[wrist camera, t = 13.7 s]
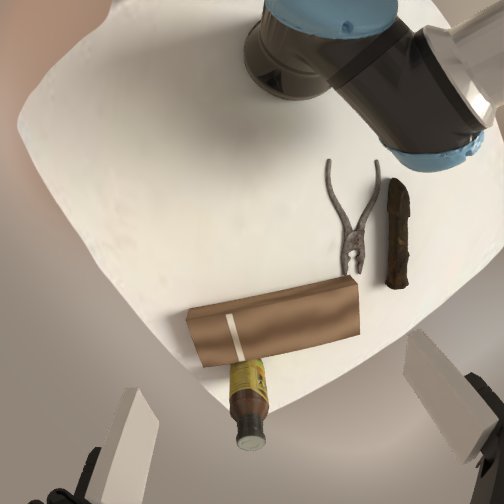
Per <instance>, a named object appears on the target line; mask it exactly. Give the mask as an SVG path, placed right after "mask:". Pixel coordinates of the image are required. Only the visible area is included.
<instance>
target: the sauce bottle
mask: <svg viewBox="0 0 504 504" xmlns="http://www.w3.org/2000/svg"><path fill="white" fill-rule="evenodd" d="M229 402H230V415H231V417H232V418H233V419H234V420H235V421H236V422H237V427H238V434H237V437H236V441H237V446H238V447H239V448H240V449H243V450H246V451H256V450H259V449H261V448H262V447H263V446H264V445H265V443H266V442H265V440H266V439H265V435H264V433H263V420H264V419H265V418H266V416H267V414H268V410H269V403H268V395H267V387H266V380H265V371H264V366H263V362H262V360H261V359H260V358H259V359H254V360H248V361H243V362H237V363H231V367H230V394H229Z"/></svg>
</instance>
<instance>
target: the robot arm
mask: <svg viewBox="0 0 504 504" xmlns="http://www.w3.org/2000/svg"><path fill="white" fill-rule="evenodd" d="M397 11H398V1H397V0H264V6H263V12H262V18H261V20H260V21H259V22H258V23H257V24H256V25H254V27H253V28H252V29H251V30H250V32H249V34H248V36H247V38H246V41H245V45H244V61H245V65H246V68H247V70H248V72H249V74H250V76H251V77H252V79H253V80H254V81H255V82H256V83H257V84H258V85H259V86H260V87H261V88H263V89H264V90H265V91H267V92H269V93H270V94H272V95H275V96H277V97H280V98H284V99H288V100H307V99H311V98H315V97H317V96H319V95H321V94H323V93H325V92H326V91H327V90H329V89H330V88H331V87H332V88H333V89H334V90H335V91H336V92H337V93H338V94H339V95H340V96H341V97H342V98H343V99H344V100H345V101H346V102H347V103H348V104H349V105H350V106H351V107H352V108H353V109H354V110H355V111H356V112H357V113H358V114H359V115H360V117H361V118H362V119H363V120H364V121H365V122H366V123H367V124H368V125H369V126H370V128H371V129H372V130H373V131H374V132H375V133H376V134H377V136H378V137H379V140H380V142H381V143H382V145H383V146H384V147H385V148H387V149H388V150H389V151H391V152H392V153H393V155H394V156H395V157H396V158H397V159H398V160H399V161H400V163H402V164H403V165H404V166H406V167H407V168H409V169H411V170H414V171H417V172H425V173H429V172H438V171H443V170H447V169H450V168H452V167H455V166H457V165H459V164H461V163H462V162H464V161H466V156H472V155H474V154H475V153H476V152H477V150H478V149H479V148H480V146H481V144H482V142H483V139H484V129H487V128H489V127H491V126H492V125H493V121H494V117H495V113H496V109H497V108H498V106H501V105H503V104H504V0H500V1H498V2H496V3H494V4H493V5H491V6H489V7H487V8H486V9H484V10H482V11H480V12H478V13H477V14H475V15H473V16H472V17H470V18H468V19H466V20H465V21H463V22H461V23H460V24H458V25H456V26H455V27H453V28H451V29H442V28H438V27H434V26H430V25H427V26H425V27H423V28H422V29H420V30H419V31H417V32H416V33H414V32H413V31H412V30H410V29H409V28H408V26H407V25H406V24H405V23H404V22H403V21H402V20H401V19H400V18H399V17H398V16H397ZM407 336H408V337H407V346H406V355H405V364H404V371H403V375H404V377H405V378H406V379H407V381H408V382H409V384H410V385H411V387H412V388H413V390H414V391H415V393H416V394H417V396H418V398H419V399H420V400H421V402H422V404H423V405H424V407H425V408H426V410H427V411H428V413H429V414H430V416H431V418H432V419H433V421H434V422H435V424H436V425H437V427H438V429H439V430H440V432H441V434H442V435H443V437H444V438H445V440H446V442H447V443H448V445H449V447H450V448H451V450H452V452H453V453H454V455H455V456H456V458H457V460H458V462H459V463H460V465H461V466H463V465H465V464H466V463H468V462H470V461H471V460H473V459H475V458H476V456H477V455H478V453H479V452H480V451H481V452H482V454H483V456H482V458H481V459H480V461H479V462H478V463H477V465H476V468H478V467H479V465H480V469H479V473H478V477H477V481H476V485H475V488H474V492H473V495H472V499H471V502H470V504H504V403H503V402H502V401H501V400H500V398H499V397H498V396H497V395H496V394H495V393H494V392H492V389H491V388H490V387H489V386H487V384H486V383H485V381H484V380H483V379H482V378H481V377H479V376H478V375H476V374H474V373H472V372H471V373H469V374H468V375H466V376H463V375H462V374H461V373H460V371H459V370H458V369H457V368H456V367H455V366H454V365H453V363H451V361H450V360H449V359H448V358H447V357H446V356H445V355H444V353H442V351H441V350H440V349H439V348H438V347H437V346H436V345H435V344H434V342H433V341H432V340H431V339H430V338H429V337H428V336H427V335H426V334H425V333H424V332H423V331H422V330H421V329H418V330H416V331H413V332H410V333H408V335H407ZM158 427H159V421H158V420H157V418H156V416H155V415H154V413H153V412H152V410H151V408H150V407H149V405H148V403H147V402H146V400H145V398H144V397H143V395H142V393H141V392H140V390H139V388H125V390H124V392H123V395H122V397H121V400H120V402H119V405H118V407H117V410H116V412H115V415H114V417H113V420H112V422H111V425H110V427H109V430H108V433H107V435H106V438H105V441H104V443H103V446H102V447H95V448H94V449H93V450H92V451H91V453H90V454H89V455H88V458H87V461H86V465H85V466H84V468H83V472H82V474H81V477H80V479H79V482H78V485H77V487H76V490H75V493H74V496H73V495H72V494H71V493H69V492H68V491H67V490H65V489H62V488H58V489H54V490H53V491H52V492H50V494H49V495H48V497H47V504H142V500H143V494H144V490H145V485H146V480H147V475H148V470H149V466H150V462H151V457H152V453H153V448H154V444H155V440H156V435H157V431H158ZM28 504H44V503H43V502H41V501H40V500H32V501H30V502H29V503H28Z"/></svg>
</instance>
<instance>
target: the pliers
mask: <svg viewBox="0 0 504 504" xmlns="http://www.w3.org/2000/svg"><path fill="white" fill-rule="evenodd" d="M375 164H376V170H377V181H376V188H375V191H374V194H373V196H372V198H371V200H370V202H369V204H368V205H367V207H366V209H365V210H364V212H363V214H362V216H361V218H360V220H359V223H358V226H357V229H356V231H353V230H352V227H351V224H350V222H349V219H348V217H347V215H346V213H345V212H344V210H343V209H342V207H341V205H340V204H339V202H338V200H337V198H336V196H335V195H334V192H333V189H332V185H331V178H330V169H331V159H328V162H327V167H326V182H327V188H328V192H329V196H330V198H331V200H332V202H333V204H334V206H335V208H336V210H337V212H338V214H339V216H340V218H341V220H342V223H343V226H344V236H345V240H344V245H343V250H342V255H341V260H342V265H343V271H344V275H345V276H346V275H347V271H348V262H349V261H350V259H351V258H350V257H349V256H348V253H349V252H350V251H352V250H353V248H355V249H356V250H358V251H359V254H358V255H357V256H356V258H357V260H358V265H357V266H358V273H359V274H361V271H362V267H363V263H364V258H365V245H364V232H365V230H364V228H365V223H366V221H367V218H368V216H369V214H370V212H371V210H372V208H373V206H374V204H375V202H376V199H377V197H378V194H379V190H380V183H381V172H380V165H379V161H378V160H376V161H375Z"/></svg>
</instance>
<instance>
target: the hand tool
mask: <svg viewBox="0 0 504 504" xmlns="http://www.w3.org/2000/svg"><path fill="white" fill-rule="evenodd" d="M409 200H410V198H409V194H408V191H407V189H406V187H405V186H404V185H403V184H402V182H401V181H399V180H398V179H397V178H392V179H391V181H390V186H389V192H388V204H387V211H388V212H389V220H390V224H389V259H388V262H389V275H388V280H386V282H385V284H386V285H387V286H388V287H389V288H391V289H393V290H397V289H404V288H405V287H406V286H408V285H409V283H408V279H407V263H408V257H409V256H410V255H409V252H408V217H410V201H409Z"/></svg>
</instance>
